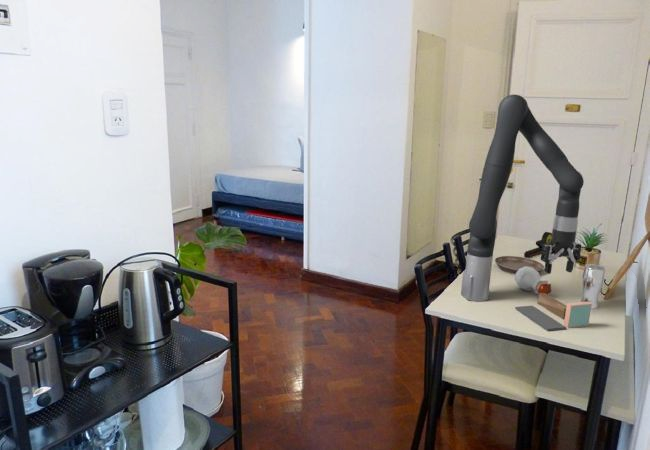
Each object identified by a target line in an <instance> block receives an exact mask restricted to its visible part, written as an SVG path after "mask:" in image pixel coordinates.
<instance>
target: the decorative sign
mask: <svg viewBox="0 0 650 450" xmlns="http://www.w3.org/2000/svg"><path fill="white" fill-rule="evenodd" d="M551 237H552V232H548V231H545V232H544V233H543V234H542V236H541V239H540V240H536V241H535V245H536V246H537V247H536V248H533V249H530V250H526V251H525V252H524V253H523V254H524V255H523V258H528V259H532V258H533V256H534V257H537V256H541V254H542V248H543V245H544V244H546V245H551V244H552V239H551Z"/></svg>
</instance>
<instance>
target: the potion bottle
mask: <svg viewBox="0 0 650 450" xmlns="http://www.w3.org/2000/svg"><path fill="white" fill-rule="evenodd" d="M541 279H542V277H541V275H540V272H539V273H538V272H537V271H536V270H535V269H534V268H532V267H527V266H525V267H523V268H520V269H519V270H518V271H517V272H516V274H514V281H515V283H516V285H517V287H519V288H520V289H521V290H525V291H531V290H533V293H535V294H536V295H537V296H539V293H546V294H547V295H549V294H551V293H552V284H551V283H549V281H548V280H541Z"/></svg>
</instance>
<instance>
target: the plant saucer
mask: <svg viewBox="0 0 650 450" xmlns="http://www.w3.org/2000/svg"><path fill="white" fill-rule="evenodd" d="M494 262H495V264H496V266H498V268H499V269H500V270H502V271H504V272H506V273H509V274H512V275H516V272H517V271H518V270H519V269H520V268H523V267H525V266H527V267H532V268H534V269H535V270H536V271H537V272H538V273H539V274H540V273H541V272H542V271H543V270H544V269H545V265H544V264H542V263H541V262H539V261H537V260H534V259H532V258H526V257H524V256H523V257H522V256H516V255H503V256H498V257H496V258H494Z"/></svg>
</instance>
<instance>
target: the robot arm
mask: <svg viewBox="0 0 650 450" xmlns="http://www.w3.org/2000/svg"><path fill="white" fill-rule="evenodd" d="M495 124H496V125H495V128H494V129H495V130H494V133H493V137H492V140H491V143H490V145H489V147H488V148H489V149H488V151H487V155H486V158H485V161H484V165H483V169H482V174H481V179H480V184H479V190H478V196H477V197H478V198H477V201H476V205H475V206H474V209H473V213H472V215H471V218H470V220H469V224H468V228H469V239H468V244H467V249H466V251H467V253H466V254H467V255H466V261H465V270H463V271H462V279H461V291H460V295H461V296H462V297H464V298H465V299H466V300H468V301H474V302H485V301H487V300H488V299H489V294H490V293H489V292H490V285H491V284H490V283H491V275H492V274H491V273H492V268H493V267H492V265H493V258H494V250H495V245H496V237H497V227H498V221H497V215H498V214H497V213H498V209H499V205H500V202H501V199H502V197H503V195H504V192H505V190H506V187H507V185H508V182H509V180H510V175H511V171H512V167H513V164H514V159H515V151H516V143H517V137H518V134H519V133H521V135H522V136H523V137H524V139H525V140H526V141H527V143H528V144H529V146H530V147H531V149H532V150H533V152H534V153H535V155H536V157H538V159H539V160H540V161H541V163H542V164H543V166H544V167H545V168H546V169H547V170H548V171H550V173H551V175H552V176H553V177H554V179H555V180H556V182H557V183H558V185H559V189H558V200H557V201H556V208H555V216H554V219H553V222H552V223H553V224H552V232H551V233H552V237H551V239H552V244H551V245H546V244H544V245H543V248H542V254H540V261H542V262H544V269H543V270H544V272H545V273H546V274H548V275H550V274H551V273H552V267H553V262H555V260H557V259H559V258H562V257H563V258H565V257H566V259H567V261H566V267H565V271H566V272H567V273H572V272H573V269H574V266H575V265H574V264H575V262H576V261H580V260H581V254H582V253H581V252H582V244H580V243H578V242H576V237H577V232H578V231H577V230H578V223H579V212H580V197H581V191H582V188H583V186H584V183H585V182H584V177H583V175H582V174H581V172H579V171H578V170H577V169H576V167H574V166H573V164H572V163H571V162H570V161H569V160H568V157H567V156H566V154H565V153H564V152H563V150H562V149H561V148H560V146H559V145H558V144H557V142H555V140H554V139H553V138H552V137H551V136H550V135H549V134H548V133H547V132H546V131H545V130H544V128H543V127H542V126H541V125H540V123H539V121H538V120H537V119H536V117H535V116H534V115H533V112H532V110H531V108H530V107H529V104H528V102H527V99H525V97H523V96H522V95H519V94H509V95H507V96H505V97H504V98H502V100H501V101H500V102H499V105H498V109H497V119H496V123H495Z"/></svg>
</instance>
